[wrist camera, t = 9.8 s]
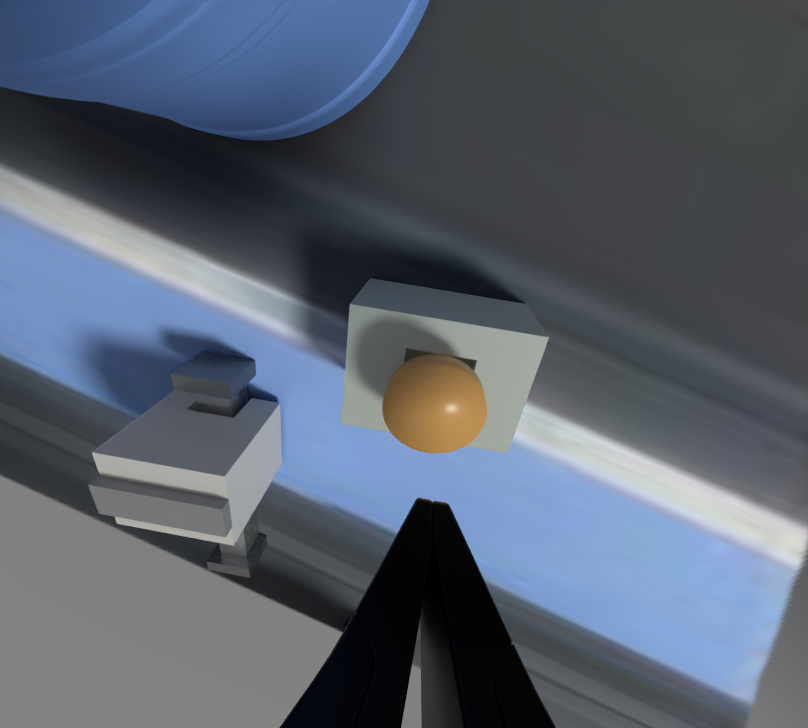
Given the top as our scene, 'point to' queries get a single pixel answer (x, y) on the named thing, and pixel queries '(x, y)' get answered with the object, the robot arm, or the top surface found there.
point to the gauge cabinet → (441, 350)
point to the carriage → (189, 468)
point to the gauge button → (434, 404)
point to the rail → (226, 395)
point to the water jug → (209, 57)
